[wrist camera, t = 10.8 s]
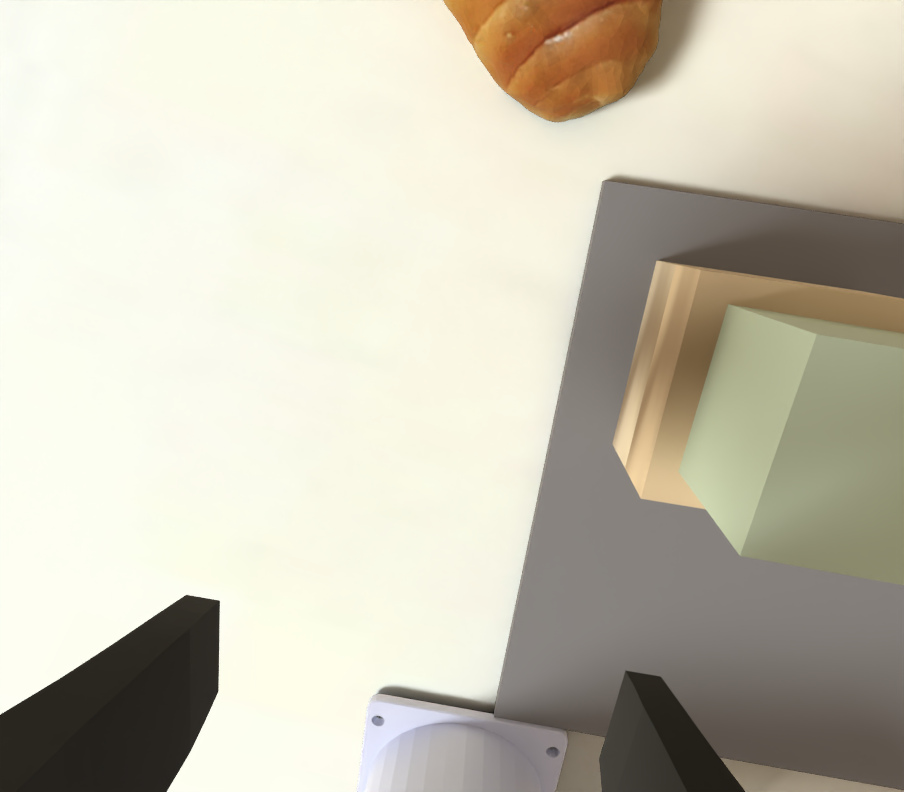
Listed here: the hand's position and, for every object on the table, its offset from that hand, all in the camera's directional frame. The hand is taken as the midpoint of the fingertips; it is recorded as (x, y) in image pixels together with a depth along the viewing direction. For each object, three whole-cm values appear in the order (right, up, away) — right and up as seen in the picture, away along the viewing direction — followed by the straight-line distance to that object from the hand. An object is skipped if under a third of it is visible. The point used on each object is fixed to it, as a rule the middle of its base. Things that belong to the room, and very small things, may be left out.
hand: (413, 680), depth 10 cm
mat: (+12, +1, +10) cm, 15 cm away
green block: (+9, +5, +4) cm, 11 cm away
